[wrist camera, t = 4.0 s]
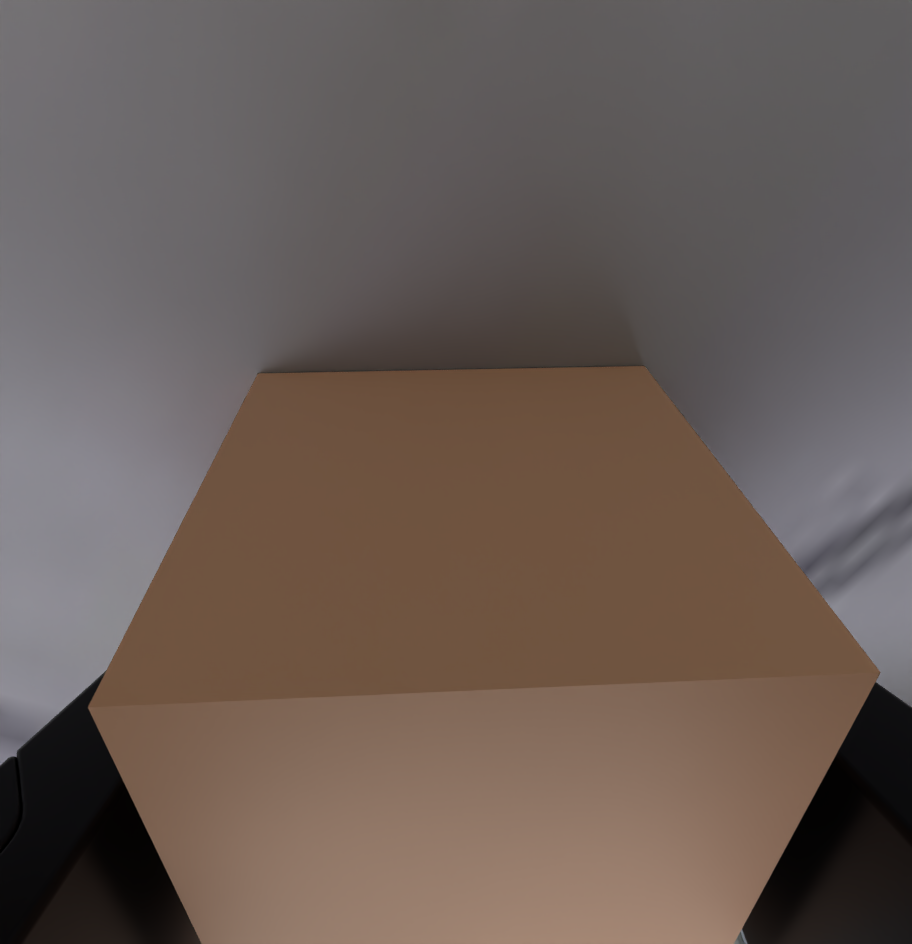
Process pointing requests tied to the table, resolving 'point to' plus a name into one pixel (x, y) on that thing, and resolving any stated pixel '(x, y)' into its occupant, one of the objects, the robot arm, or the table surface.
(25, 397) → the table surface
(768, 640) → the terracotta cube
